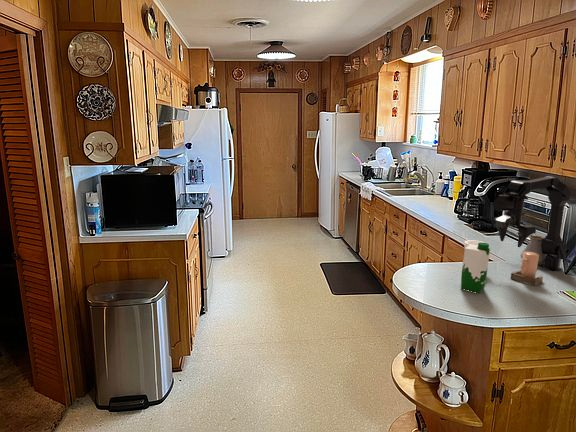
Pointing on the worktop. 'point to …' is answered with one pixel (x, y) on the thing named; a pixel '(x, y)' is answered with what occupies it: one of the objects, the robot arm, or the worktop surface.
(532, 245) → the coffee pot
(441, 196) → the worktop surface
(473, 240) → the foam cup
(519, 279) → the jug cradle
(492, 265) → the worktop surface
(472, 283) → the milk carton
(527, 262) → the jug
